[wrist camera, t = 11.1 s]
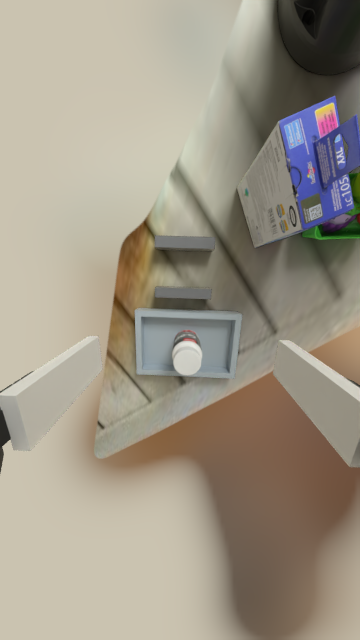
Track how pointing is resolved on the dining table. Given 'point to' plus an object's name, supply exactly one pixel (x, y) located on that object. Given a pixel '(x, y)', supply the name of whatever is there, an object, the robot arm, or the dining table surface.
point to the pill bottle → (187, 352)
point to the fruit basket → (341, 219)
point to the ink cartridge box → (301, 174)
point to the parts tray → (164, 324)
